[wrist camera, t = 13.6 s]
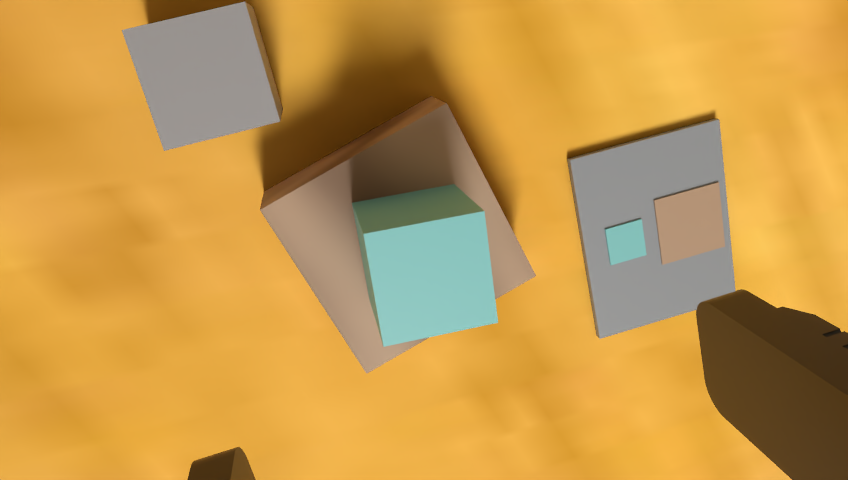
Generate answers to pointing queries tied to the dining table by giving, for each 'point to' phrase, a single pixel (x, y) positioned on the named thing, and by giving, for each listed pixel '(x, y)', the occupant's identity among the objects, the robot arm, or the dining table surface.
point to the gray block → (205, 74)
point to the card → (653, 226)
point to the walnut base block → (374, 178)
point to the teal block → (426, 263)
